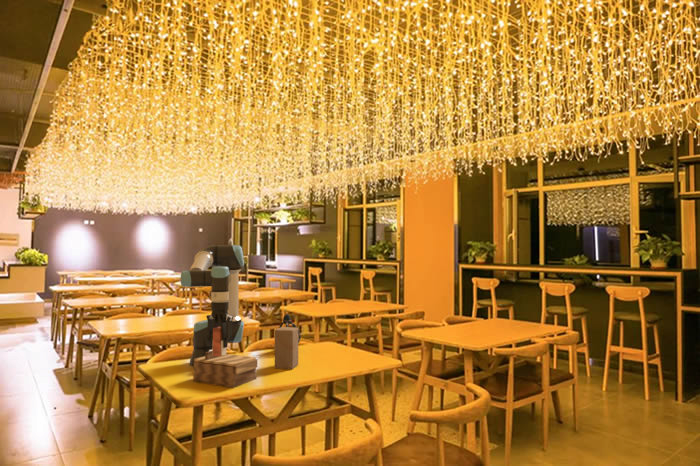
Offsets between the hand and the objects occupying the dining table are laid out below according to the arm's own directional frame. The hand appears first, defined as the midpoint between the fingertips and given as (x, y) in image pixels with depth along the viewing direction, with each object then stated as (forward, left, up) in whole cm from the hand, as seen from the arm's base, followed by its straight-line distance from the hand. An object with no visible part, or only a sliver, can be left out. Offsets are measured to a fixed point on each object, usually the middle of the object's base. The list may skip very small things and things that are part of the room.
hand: (219, 354), depth 201 cm
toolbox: (-8, +13, -15) cm, 22 cm away
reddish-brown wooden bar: (0, 0, 0) cm, 0 cm away
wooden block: (+4, +47, -16) cm, 50 cm away
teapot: (-20, +80, -16) cm, 84 cm away
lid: (-8, +13, -10) cm, 18 cm away
